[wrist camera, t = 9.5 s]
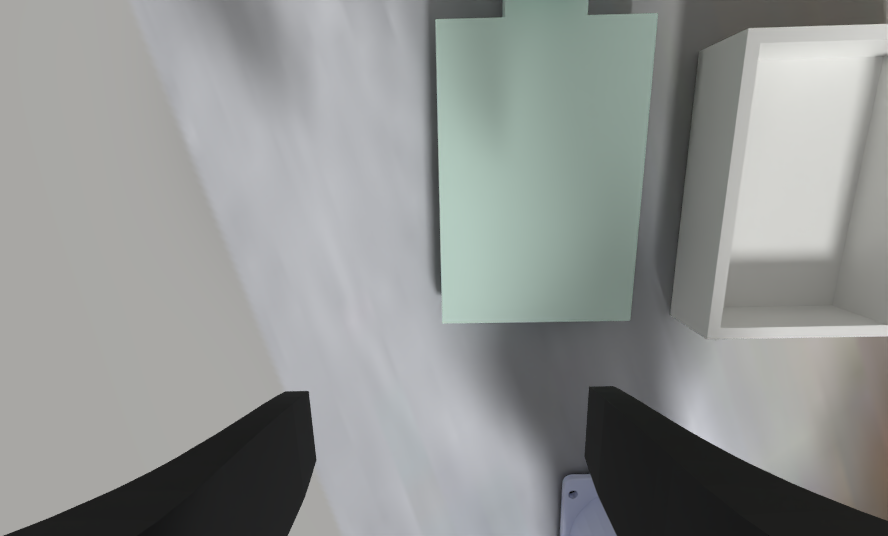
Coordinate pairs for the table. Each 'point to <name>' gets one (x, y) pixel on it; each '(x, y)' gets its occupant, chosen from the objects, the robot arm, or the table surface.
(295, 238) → the table surface
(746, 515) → the robot arm
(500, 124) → the lid
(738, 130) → the tub
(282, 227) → the table surface
